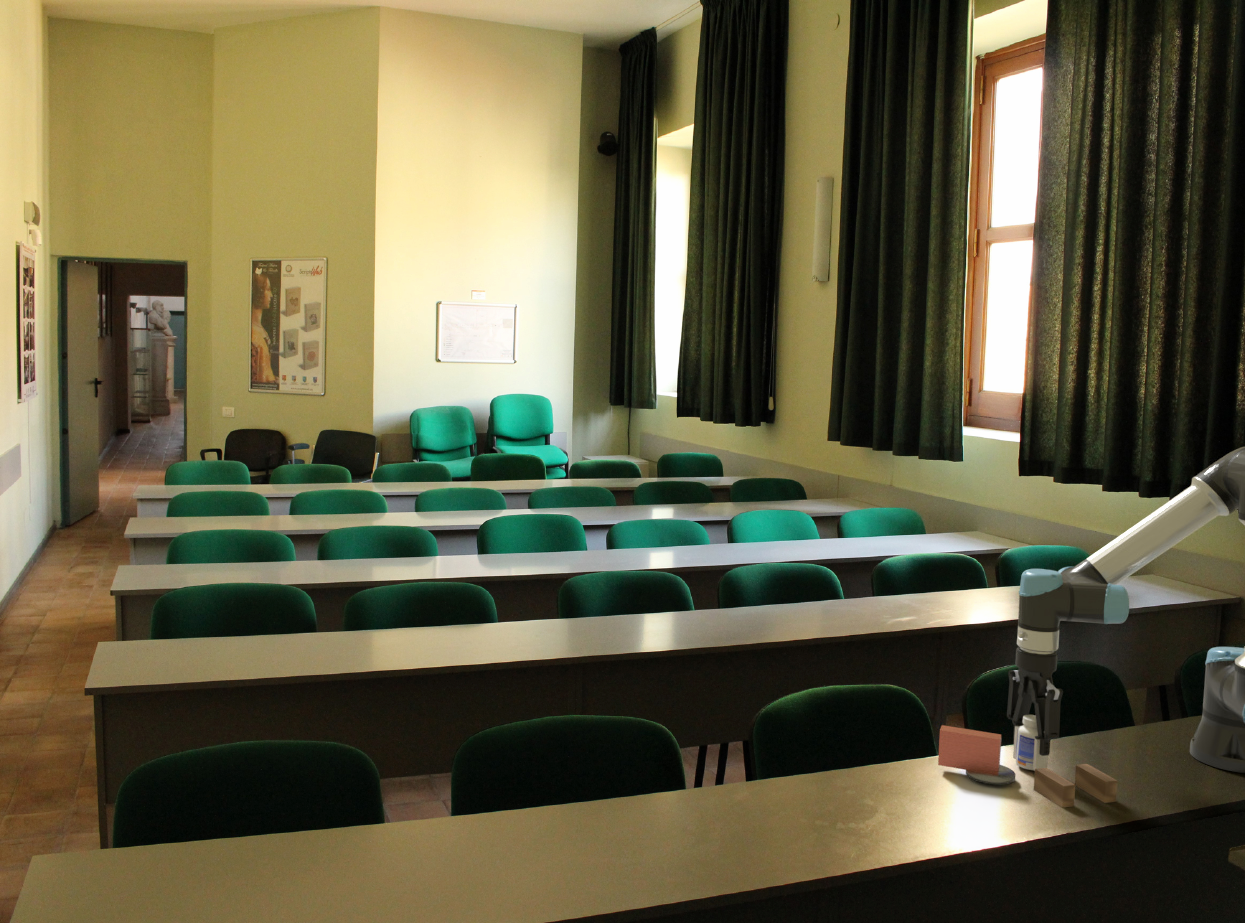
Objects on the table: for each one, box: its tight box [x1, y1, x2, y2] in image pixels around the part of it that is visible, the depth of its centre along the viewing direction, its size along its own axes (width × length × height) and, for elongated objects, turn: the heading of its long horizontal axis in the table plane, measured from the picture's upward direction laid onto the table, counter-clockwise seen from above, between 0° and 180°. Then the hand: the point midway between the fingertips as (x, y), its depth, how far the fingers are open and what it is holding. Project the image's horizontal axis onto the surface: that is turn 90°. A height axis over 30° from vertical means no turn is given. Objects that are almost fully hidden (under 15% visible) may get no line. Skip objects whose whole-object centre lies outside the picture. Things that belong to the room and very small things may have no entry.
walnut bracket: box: [1033, 763, 1118, 808], centre depth 190 cm, size 12×8×4 cm
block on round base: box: [937, 724, 1016, 786], centre depth 198 cm, size 9×14×8 cm, turn 65°
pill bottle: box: [1015, 714, 1038, 771], centre depth 203 cm, size 5×5×10 cm
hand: (1029, 763), depth 203 cm, fingers closed on pill bottle, 5 cm apart
